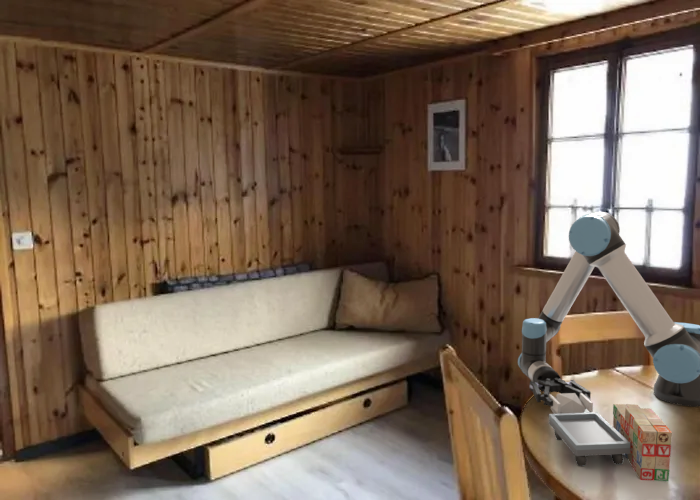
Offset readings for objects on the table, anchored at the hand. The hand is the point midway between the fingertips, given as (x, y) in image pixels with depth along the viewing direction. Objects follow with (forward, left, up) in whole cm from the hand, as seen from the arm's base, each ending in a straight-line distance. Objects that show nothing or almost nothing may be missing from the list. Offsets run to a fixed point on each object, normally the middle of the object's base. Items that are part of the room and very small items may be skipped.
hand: (575, 408), depth 152 cm
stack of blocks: (-9, +16, -6) cm, 19 cm away
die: (0, -5, -6) cm, 8 cm away
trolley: (+2, +12, -6) cm, 13 cm away
